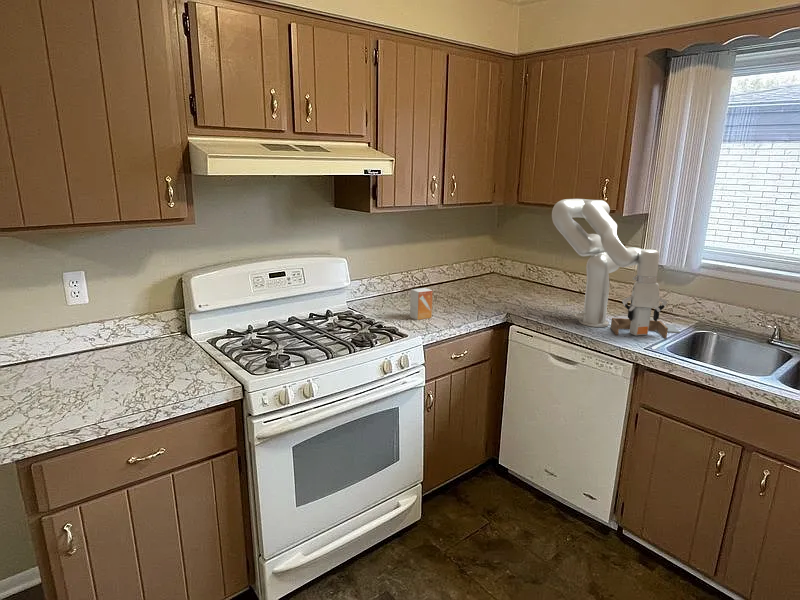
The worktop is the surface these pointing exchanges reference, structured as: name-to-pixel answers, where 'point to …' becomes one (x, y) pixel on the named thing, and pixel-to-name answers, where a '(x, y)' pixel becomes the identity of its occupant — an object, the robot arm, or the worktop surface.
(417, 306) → the small box
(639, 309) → the skincare box
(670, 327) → the mat
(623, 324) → the brown u-shaped bracket
